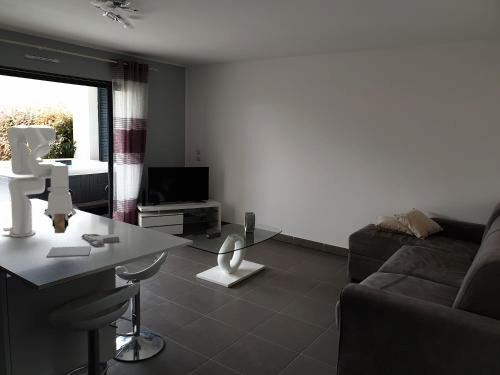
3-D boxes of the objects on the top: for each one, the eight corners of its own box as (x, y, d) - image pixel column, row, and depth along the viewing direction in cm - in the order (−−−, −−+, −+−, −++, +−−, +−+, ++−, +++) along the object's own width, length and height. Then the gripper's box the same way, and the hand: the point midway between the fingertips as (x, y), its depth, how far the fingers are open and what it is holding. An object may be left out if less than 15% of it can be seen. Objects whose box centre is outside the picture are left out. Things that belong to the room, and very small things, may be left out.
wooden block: (54, 233, 180) (54, 214, 179) (57, 229, 186) (57, 211, 185) (64, 233, 181) (63, 214, 180) (66, 229, 188) (66, 211, 186)
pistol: (124, 237, 207) (94, 242, 196) (124, 243, 207) (94, 248, 196) (109, 229, 221) (80, 233, 210) (109, 235, 222) (80, 239, 211)
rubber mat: (46, 257, 177) (46, 256, 177) (52, 248, 190) (52, 247, 190) (88, 255, 183) (88, 254, 182) (91, 247, 196) (91, 246, 196)
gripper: (38, 191, 175) (39, 230, 178) (78, 191, 180) (78, 229, 183) (41, 188, 182) (42, 226, 185) (80, 189, 187) (80, 225, 190)
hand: (60, 227), depth 184 cm, fingers closed on wooden block, 4 cm apart
